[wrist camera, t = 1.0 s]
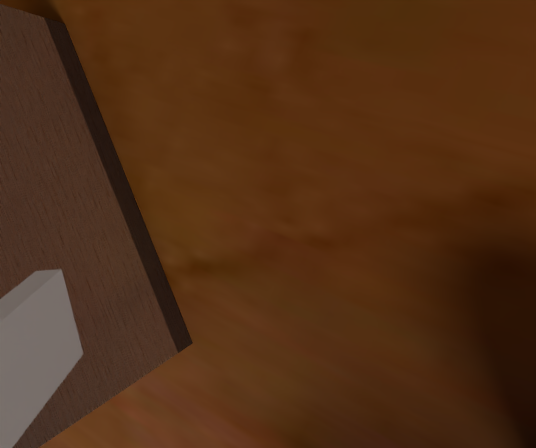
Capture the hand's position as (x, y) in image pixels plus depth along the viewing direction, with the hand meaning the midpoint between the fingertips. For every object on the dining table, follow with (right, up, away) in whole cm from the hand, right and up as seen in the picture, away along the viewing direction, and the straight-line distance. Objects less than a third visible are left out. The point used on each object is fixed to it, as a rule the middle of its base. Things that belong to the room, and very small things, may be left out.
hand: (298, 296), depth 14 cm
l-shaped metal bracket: (-19, +2, +28) cm, 34 cm away
